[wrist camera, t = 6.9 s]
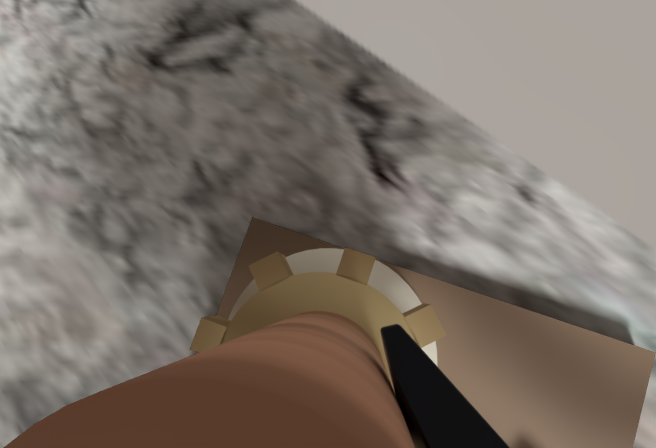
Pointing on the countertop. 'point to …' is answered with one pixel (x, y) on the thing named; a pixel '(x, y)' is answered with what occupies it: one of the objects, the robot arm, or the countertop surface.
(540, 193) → the countertop surface
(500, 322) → the gear board
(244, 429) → the gear spindle
